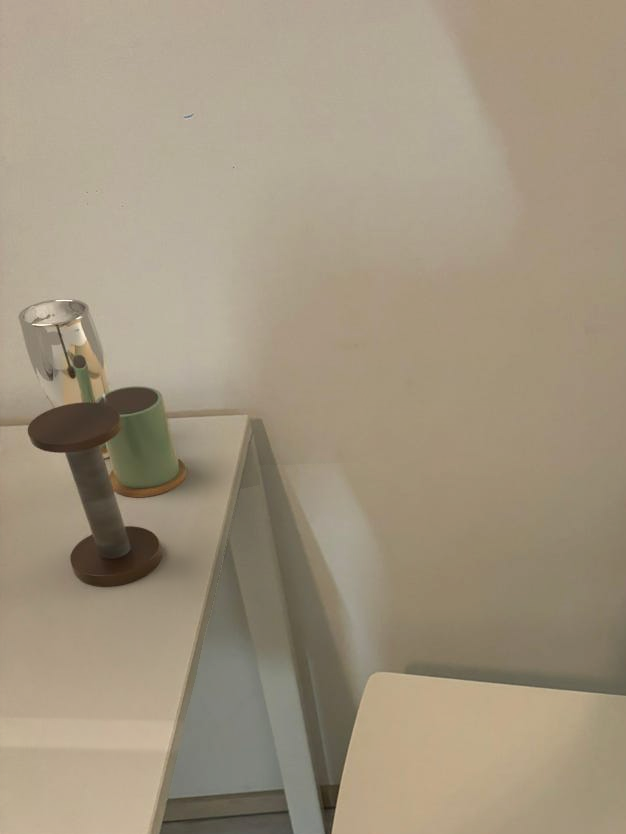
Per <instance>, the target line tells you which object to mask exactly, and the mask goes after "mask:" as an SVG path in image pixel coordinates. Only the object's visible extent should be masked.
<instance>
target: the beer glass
mask: <svg viewBox="0 0 626 834" xmlns="http://www.w3.org/2000/svg"><path fill="white" fill-rule="evenodd" d="M18 320H19V324H20V327H21V332H22V337H23V340H24V344H25V347H26V351H27V354H28V357H29V360H30V363H31V366H32V369H33V371H34V373H35V375H36V378H37V379H38V381H39V385H40V386H41V388H42V389H43V391H44V393H45V395H46V396H47V398H48V400H49V403H50V404H51V405H52V409H53V408H56V407H59V406H63V405H68V404H73V403H82V402H94V403H95V402H96V400H97V399H98V398H99V397H101V396H102V395H104V394H106V393H108V392H110V388H109V378H108V369H107V368H108V367H107V361H106V357H105V353H104V348H103V345H102V342H101V338H100V336H99V332H98V329H97V327H96V324H95V321H94V319H93V317H92V313H91V311H90V307H89V305H88V304H87V303H86V302H85V301H82V300H79V299H73V298H72V299H70V298H59V299H58V298H57V299H49V300H45V301H39V302H37V303H34V304H31V305H29V306H27V307H25V308H24V309H23V310H21V311H20V312H19V314H18ZM100 448H101V451H102V454H103V457H104V460H105V459H108V458H110V457H109V454H108V451H107V447H106V444H105V443H104V444H101V445H100Z"/></svg>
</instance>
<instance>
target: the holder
mask: <svg viewBox="0 0 626 834" xmlns="http://www.w3.org/2000/svg"><path fill="white" fill-rule="evenodd" d="M121 427H122V422H121V418H120V415H119V413H118V411H117V410H116V409H115V408H113V407H111V406H109V405H106V404H102V403H94V402H82V403H73V404H68V405H63V406H59V407H56V408H53V407H52V408H51V409H48V410H46V411H44V412H42V413H40V414H39V415H37V416H36V417H35V418H33V419H32V420H31V422H30V423H29V424H28V427H27V435H28V437H29V440H30V442H31V444H32V445H33V446H34V447H35V448H37V449H39V450H41V451H44V452H48V453H58V454H59V453H60V454H63V453H64V454H65V457H66V460H67V463H68V466H69V468H70V471H71V475H72V476H73V481H74V484H75V487H76V490H77V493H78V495H79V498H80V501H81V504H82V505H81V506H82V507H83V510H84V511H83V512H84V513H85V516H86V520H87V523H88V525H89V529H90V531H91V534H90V535H89V536H86V537H84V538H83V539H82V540H80V541H79V542H78V543H77V544H76V545H75V546H74V547H73V549H72V551H71V553H70V557H69V561H70V565H71V567H72V570H73V573H74V575H75V576H76V578H77V579H78V580H79V581H80V582H81V581H82V582H83V583H85V584H88V585H90V586H96V587H116V586H123V585H126V584H130V583H132V582H135V581H137V580H140V579H142V578H145V577H146V576H147V575H148V574H150V573H151V572H153V571H154V570H155V569H156V568H157V566H158V565H159V564H160V563H161V560H162V557H163V550H162V547H161V543H160V540H159V538H158V536H157V535H156V534H155V533H154V532H153V531H151V530H149V529H147V528H144V527H140V526H134V525H133V526H131V525H125V523H124V519H123V516H122V513H121V509H120V508H119V503H118V499H117V496H116V494H115V493H116V492H115V491H114V490H113V487H112V483H111V480H110V477H109V475H110V473H109V470H108V468H107V464H106V462H105V461H106V460H105V459H104V457H103V454H102V451H101V448H100V445H101V444H104V443H106V442H107V441H109V440H111V439H112V438H114V437H115V436H116V435H117V434H118V433H119V431H120V430H121Z"/></svg>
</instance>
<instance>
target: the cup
mask: <svg viewBox="0 0 626 834" xmlns="http://www.w3.org/2000/svg"><path fill="white" fill-rule="evenodd" d="M95 403H102V404H106V405H109V406H111V407H113V408H115V409H116V410H117V411H118V413H119V415H120V418H121V422H122V427H121V430H120V431H119V433H118V434H117V435H116V436H115V437H114V438H112V439H111V440H109V441H107V442H106V443H105V444H106V447H107V451H108V454H109V457H108V458H109V462H110V464H111V467H112V470H113V471H114V474H115V477H116V480H117V482H118V483H119V484H121V485H123V486H125V487H128V488H135V489H144V488H151V487H156V486H159V485H162V484H164V483H167V482H169V481H170V480H172V479H173V478H174V477H175V476H176V475H177V474H178V473H179V470H180V466H179V462H178V459H179V458H178V454H177V450H176V446H175V442H174V438H173V434H172V430H171V425H170V422H169V418H168V417H169V416H168V414H167V410H166V405H165V401H164V397H163V394H162V393H161V392H160V391H159V390H158V389H155V388H153V387H149V386H143V385H142V386H141V385H139V386H138V385H137V386H136V385H135V386H125V387H119V388H116V389H113V390H109V392H108V393H106V394H104V395H102V396H101V397H99V398H98V399H97V400H96V402H95Z"/></svg>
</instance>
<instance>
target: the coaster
mask: <svg viewBox="0 0 626 834" xmlns="http://www.w3.org/2000/svg"><path fill="white" fill-rule="evenodd" d="M178 462H179V466H180V470H179V473H178V474H177V475H176V476H175V477H174V478H173V479H172V480H170V481H169V482H167V483H164V484H162V485H159V486H156V487H151V488H144V489H135V488H128V487H125V486H123V485H121V484H119V483H118V482H117V480H116V477H115V474H114V471H113V469H112V470H111V472H110V473H109V477H110V480H111V483H112V487H113V490H114V493H116V494H119V495H121V496H124V497H129V498H130V497H131V498H147V497H148V498H149V497H153V496H158V495H161V494H165V493H166V492H169V491H172V490H173V489H175V488H176V487H178V486H179V485H180V484H181V483H183V481H184V480H185V478H186V476H187V469H186V465H185V463H184V462H183V460H181V459H180V458H178Z"/></svg>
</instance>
